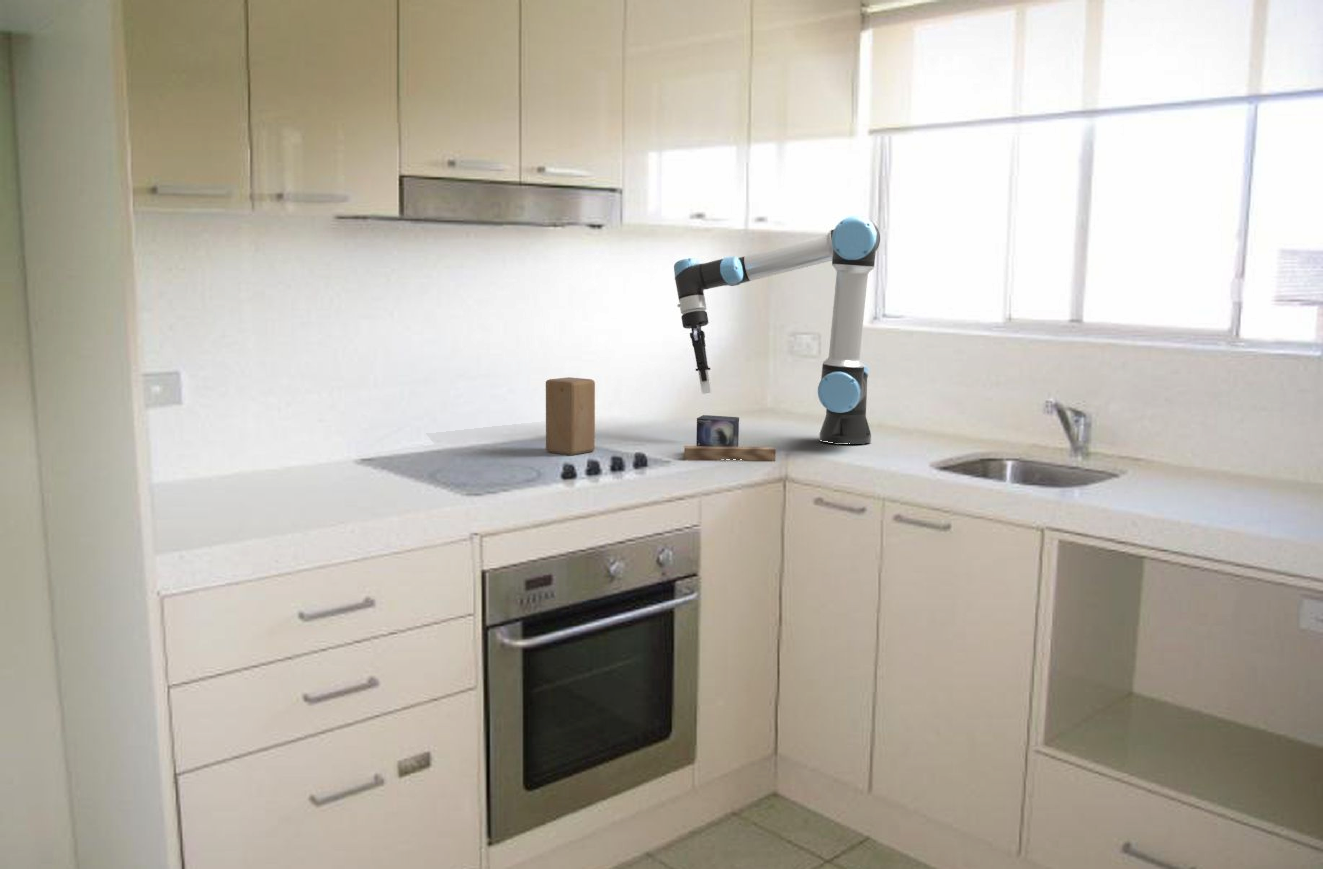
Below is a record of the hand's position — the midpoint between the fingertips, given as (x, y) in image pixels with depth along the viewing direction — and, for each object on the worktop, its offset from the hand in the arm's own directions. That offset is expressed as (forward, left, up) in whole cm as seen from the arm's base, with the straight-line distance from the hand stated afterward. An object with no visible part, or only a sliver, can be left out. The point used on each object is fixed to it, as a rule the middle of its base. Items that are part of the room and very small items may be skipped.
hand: (706, 392), depth 317 cm
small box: (+4, +20, -15) cm, 25 cm away
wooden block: (+41, +4, -15) cm, 44 cm away
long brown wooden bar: (+3, +27, -15) cm, 31 cm away
